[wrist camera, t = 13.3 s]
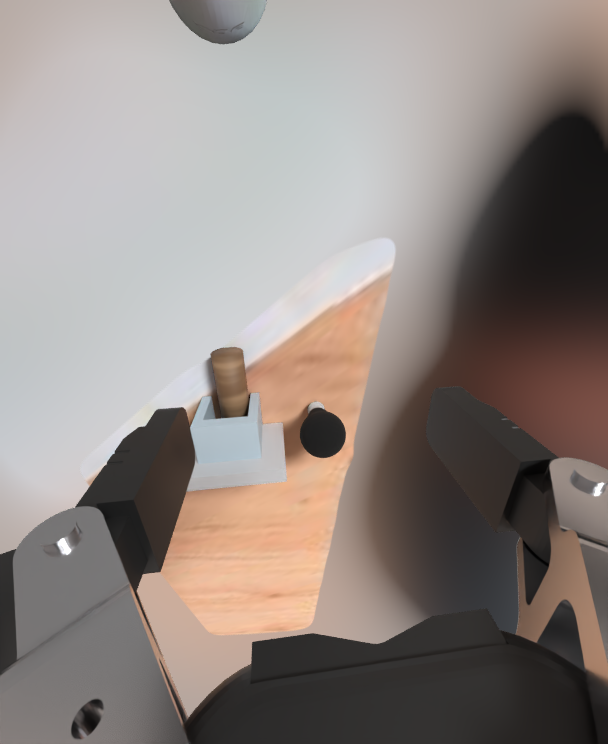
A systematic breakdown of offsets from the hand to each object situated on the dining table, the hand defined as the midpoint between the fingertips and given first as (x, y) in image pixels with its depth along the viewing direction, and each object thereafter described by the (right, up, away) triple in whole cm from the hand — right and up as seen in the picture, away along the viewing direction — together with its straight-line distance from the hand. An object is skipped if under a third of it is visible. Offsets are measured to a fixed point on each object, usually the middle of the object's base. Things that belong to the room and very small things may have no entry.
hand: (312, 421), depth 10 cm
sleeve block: (-11, -4, +34) cm, 36 cm away
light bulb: (+1, -3, +35) cm, 35 cm away
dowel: (-11, 0, +32) cm, 34 cm away
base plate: (-11, -6, +35) cm, 37 cm away
